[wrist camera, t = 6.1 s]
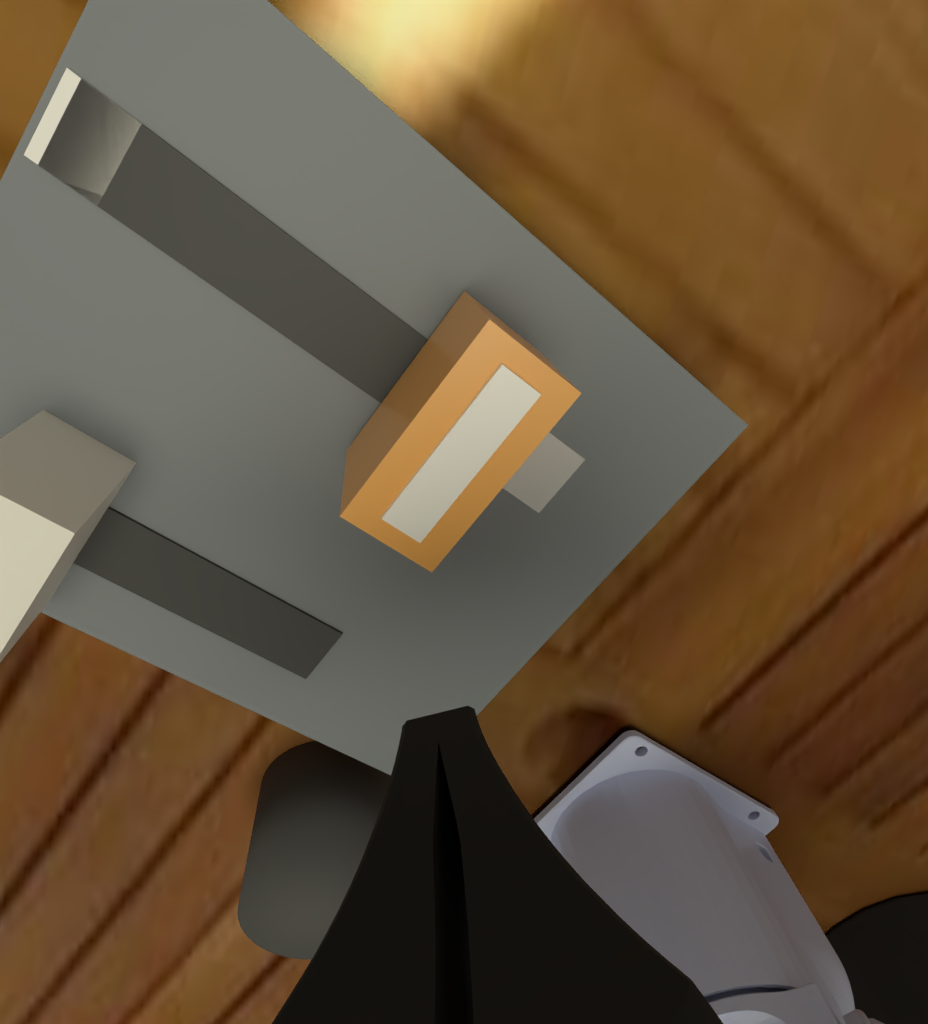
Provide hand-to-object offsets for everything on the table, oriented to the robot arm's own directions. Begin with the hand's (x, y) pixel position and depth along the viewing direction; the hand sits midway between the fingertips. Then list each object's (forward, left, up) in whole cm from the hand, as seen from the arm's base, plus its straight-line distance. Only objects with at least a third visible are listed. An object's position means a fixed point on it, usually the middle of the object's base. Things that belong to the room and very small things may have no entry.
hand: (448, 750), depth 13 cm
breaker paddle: (+3, -4, -7) cm, 9 cm away
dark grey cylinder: (-4, +11, -10) cm, 15 cm away
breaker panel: (+4, -1, -10) cm, 11 cm away
